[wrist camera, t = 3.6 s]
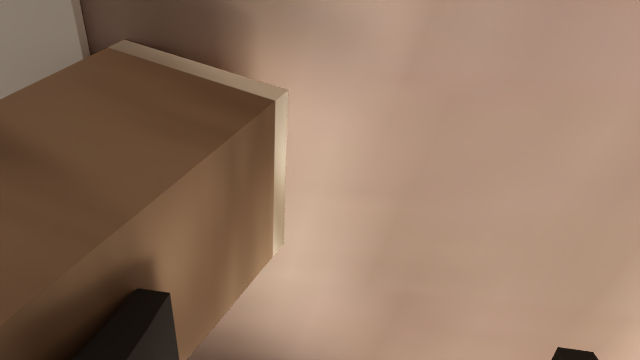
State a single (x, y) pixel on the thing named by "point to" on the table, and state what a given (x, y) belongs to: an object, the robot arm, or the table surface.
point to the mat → (38, 40)
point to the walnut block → (134, 195)
